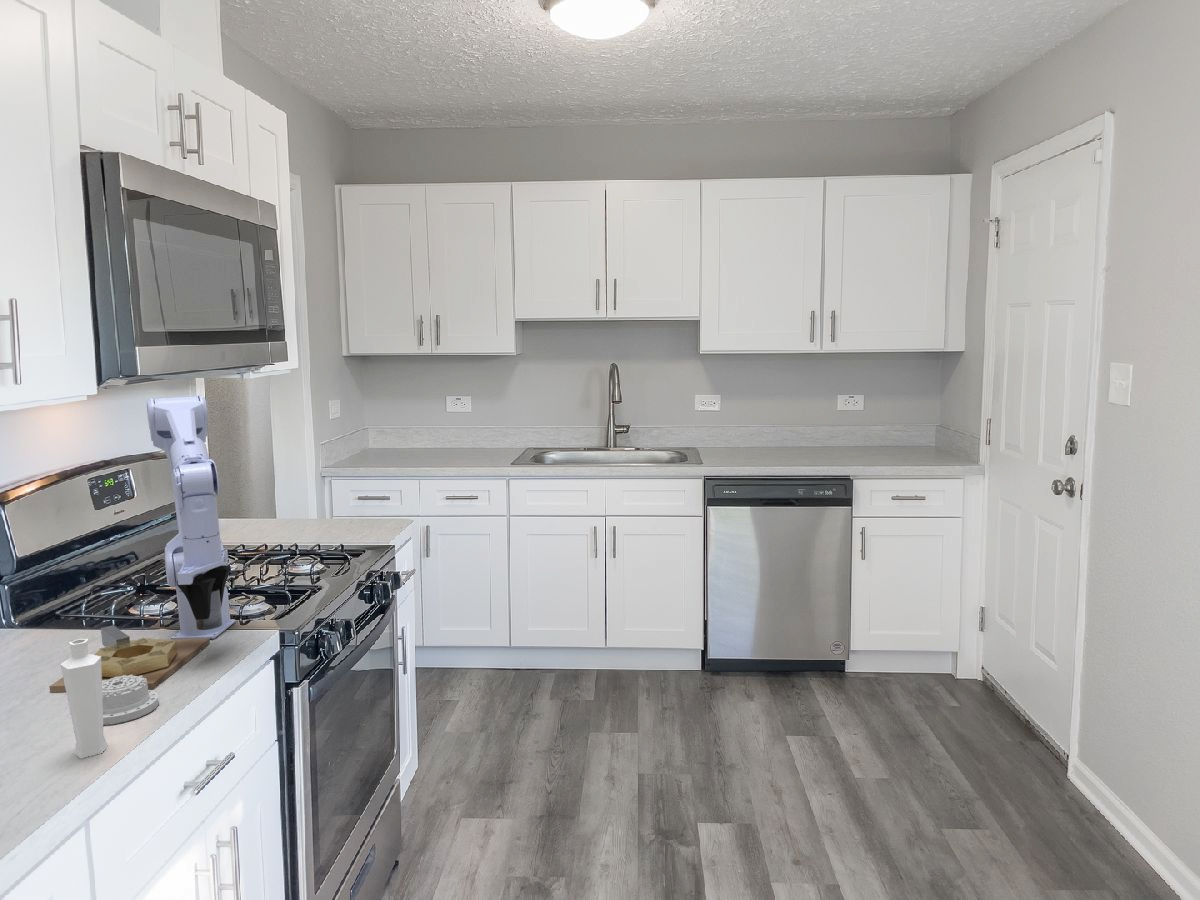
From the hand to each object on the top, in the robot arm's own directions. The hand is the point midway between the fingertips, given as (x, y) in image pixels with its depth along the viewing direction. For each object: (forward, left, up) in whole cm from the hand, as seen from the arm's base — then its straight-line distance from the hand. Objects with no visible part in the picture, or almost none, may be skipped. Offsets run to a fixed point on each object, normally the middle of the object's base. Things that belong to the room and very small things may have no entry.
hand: (208, 614), depth 149 cm
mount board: (+3, -11, -8) cm, 14 cm away
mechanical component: (+21, -4, -8) cm, 23 cm away
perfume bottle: (+33, -1, -8) cm, 34 cm away
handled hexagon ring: (+2, -13, -6) cm, 15 cm away
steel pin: (0, 0, -2) cm, 2 cm away
